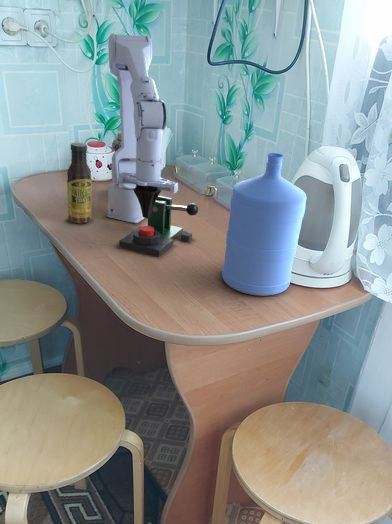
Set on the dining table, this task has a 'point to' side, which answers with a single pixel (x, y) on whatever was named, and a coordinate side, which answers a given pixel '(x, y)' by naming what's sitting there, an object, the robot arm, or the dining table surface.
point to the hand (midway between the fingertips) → (147, 216)
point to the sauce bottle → (79, 185)
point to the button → (146, 231)
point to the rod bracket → (163, 219)
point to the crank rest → (186, 237)
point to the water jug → (263, 232)
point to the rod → (182, 208)
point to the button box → (146, 243)
